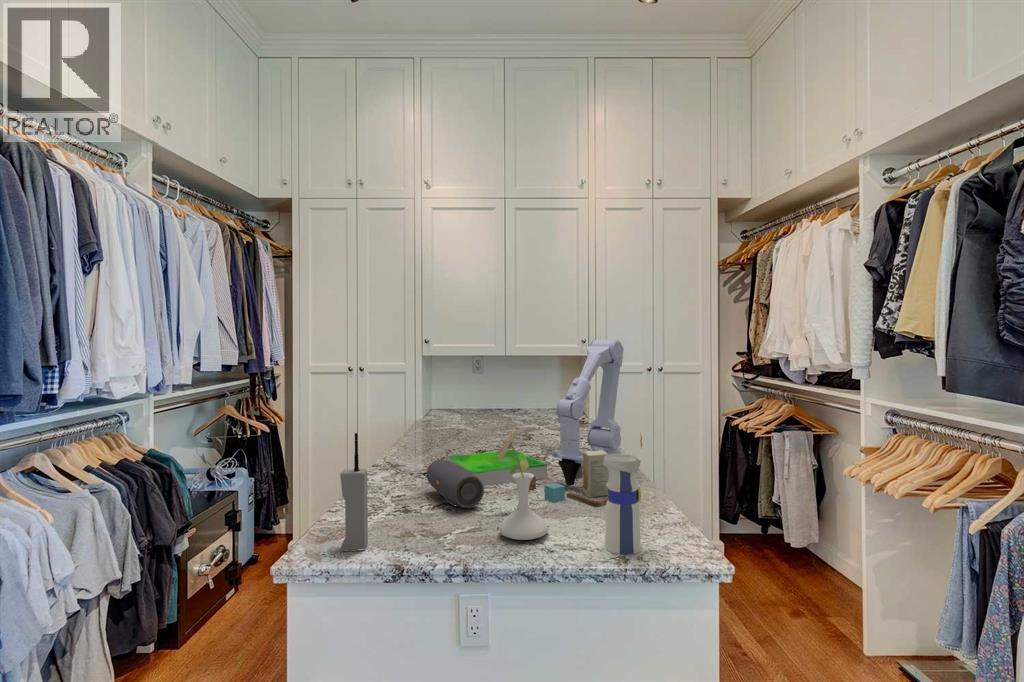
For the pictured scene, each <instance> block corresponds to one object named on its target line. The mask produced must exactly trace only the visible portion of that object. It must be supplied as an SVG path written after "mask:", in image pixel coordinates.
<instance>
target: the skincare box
mask: <svg viewBox="0 0 1024 682" xmlns="http://www.w3.org/2000/svg"><path fill="white" fill-rule="evenodd" d="M582 455H583V465H582V469H583V470H582V493H584V495H585V497H586V498H594V497H595V498H596V497H605V496H608V488H607V486H606V483H607V482H608V467H606V466H604V465H603V461H604V457H605V456H606V455H608V454H607V453H606V452H605V451H603V450H596V451H592V450H587V451H583V453H582Z"/></svg>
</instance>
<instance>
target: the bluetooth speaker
mask: <svg viewBox="0 0 1024 682" xmlns="http://www.w3.org/2000/svg"><path fill="white" fill-rule="evenodd" d="M426 480H427V482H428V483H429V485H430V486H431V487H433V488H434V490H435V491H437V492H438V493H439V494H441V495H442V496H443V499H444V500H445V499H446V501H447V500H448V501H449V502H450V504H451V503H452V504H453V506H454V505H456V506H455V507H460V508H461V507H462V508H469V509H470V508H473V507H475V506H477V505H478V504H479V503H480V502H481V501H482V499H483V497H484V495H485V494H484V493H485V486H483V484H482V482H481V481H480V479H479V478H478V477H476V476H475V475H474V474H472V473H471V472H469V471H468V470H466V469H465V468H463V467H461V466H459V465H457V464H455V463H453V462H450V461H448V459H442V458H439V459H436V460H434V461H432V462H431V463H430V464H429V466H428V467H427V471H426ZM448 501H447V502H448ZM449 502H448V503H449ZM452 504H451V505H452Z"/></svg>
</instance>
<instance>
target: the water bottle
mask: <svg viewBox="0 0 1024 682" xmlns="http://www.w3.org/2000/svg"><path fill="white" fill-rule="evenodd" d="M639 442H640V449H642V448H643V436H642V433H641V432H639ZM641 461H642V460H640V459H638V457H637V456H635V455H634V454H629V453H622V454H610V455H606V456H605V457H604V461H603V465H604V466H606V467H608V471H609V480H608V482H607V483H606V486H607V488H608V495H607V498H608V501H607V504H605V529H604V530H605V531H604V532H605V533H604V548H605V550H606V551H607V552H610V553H613V554H618V555H634V554H637V553H639V552H641V551H642V541H641V526H640V525H641V520H640V519H641V518H640V515H641V514H640V504H639V503H640V502H641V500H642V492H641V488H640V487H641V486H640V485H639V483H638V481H637V480H638V479H637V476H640V475H639V469H640V466H641V465H640V464H641V463H642V462H641Z"/></svg>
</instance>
